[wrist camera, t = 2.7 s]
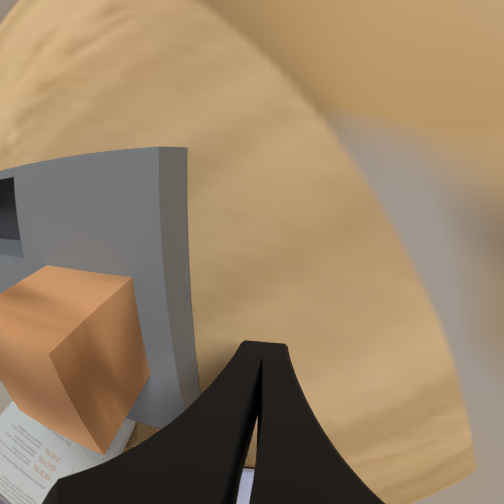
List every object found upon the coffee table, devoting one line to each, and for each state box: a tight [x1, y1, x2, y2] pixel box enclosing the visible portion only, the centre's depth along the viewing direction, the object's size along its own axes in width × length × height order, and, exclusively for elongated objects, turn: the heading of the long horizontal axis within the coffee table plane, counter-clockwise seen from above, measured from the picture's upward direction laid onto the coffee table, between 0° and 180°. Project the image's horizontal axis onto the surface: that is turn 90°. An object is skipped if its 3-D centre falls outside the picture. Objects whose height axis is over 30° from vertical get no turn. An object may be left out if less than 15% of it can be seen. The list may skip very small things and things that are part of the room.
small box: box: [0, 401, 136, 504], centre depth 11 cm, size 8×6×13 cm
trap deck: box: [0, 147, 201, 429], centre depth 12 cm, size 13×21×2 cm, turn 88°
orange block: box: [0, 265, 151, 455], centre depth 8 cm, size 4×4×4 cm
